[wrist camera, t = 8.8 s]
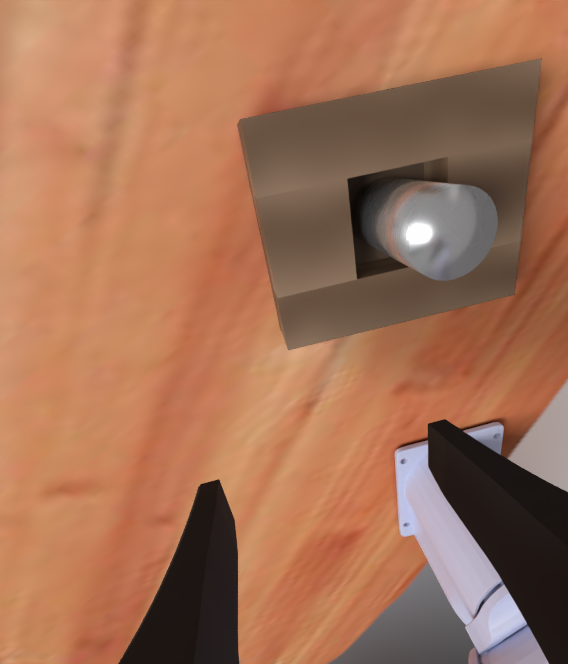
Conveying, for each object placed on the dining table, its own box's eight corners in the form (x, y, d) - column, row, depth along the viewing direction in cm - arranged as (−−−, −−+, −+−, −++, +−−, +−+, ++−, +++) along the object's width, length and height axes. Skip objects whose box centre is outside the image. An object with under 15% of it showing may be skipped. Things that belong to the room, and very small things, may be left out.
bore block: (482, 280, 21) (514, 294, 19) (280, 328, 20) (288, 350, 18) (497, 72, 16) (541, 58, 14) (237, 124, 16) (240, 119, 13)
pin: (413, 237, 19) (494, 269, 13) (354, 252, 18) (411, 289, 13) (412, 170, 17) (501, 175, 12) (347, 185, 17) (408, 196, 12)
